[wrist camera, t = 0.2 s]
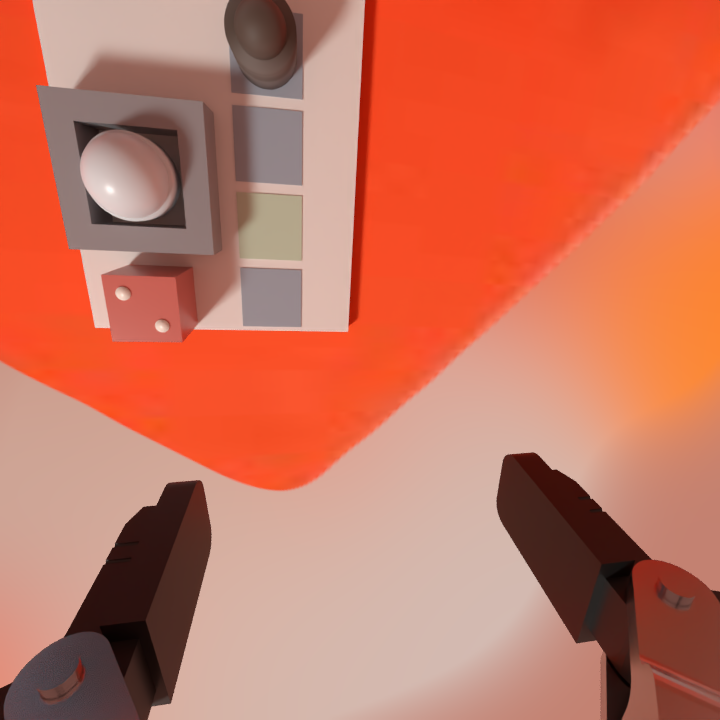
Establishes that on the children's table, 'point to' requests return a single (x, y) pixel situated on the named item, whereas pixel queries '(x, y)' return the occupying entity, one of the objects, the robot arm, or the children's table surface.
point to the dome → (129, 175)
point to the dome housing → (138, 115)
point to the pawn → (262, 40)
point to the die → (150, 303)
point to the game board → (236, 149)
